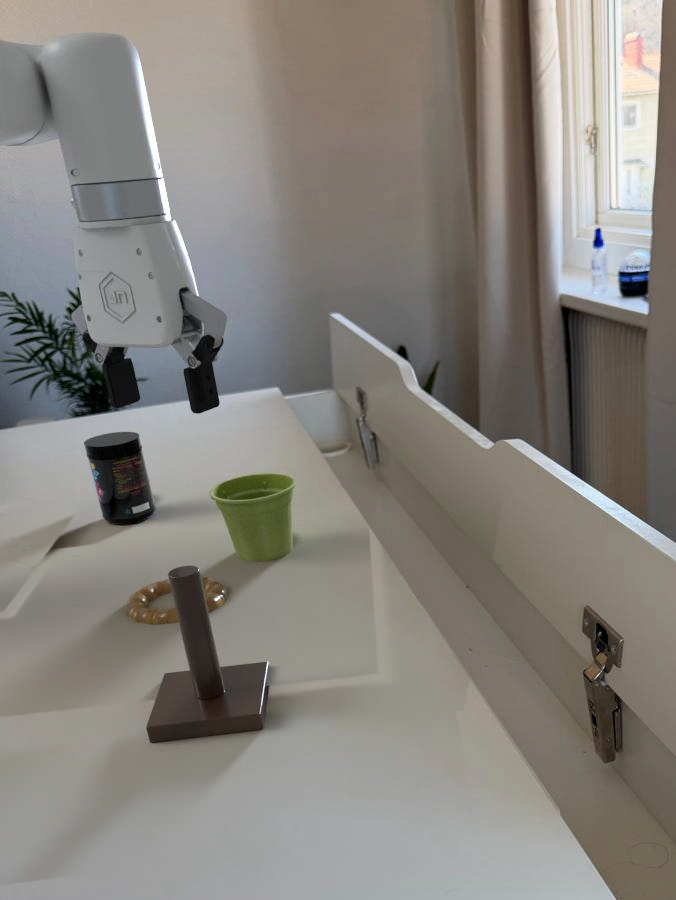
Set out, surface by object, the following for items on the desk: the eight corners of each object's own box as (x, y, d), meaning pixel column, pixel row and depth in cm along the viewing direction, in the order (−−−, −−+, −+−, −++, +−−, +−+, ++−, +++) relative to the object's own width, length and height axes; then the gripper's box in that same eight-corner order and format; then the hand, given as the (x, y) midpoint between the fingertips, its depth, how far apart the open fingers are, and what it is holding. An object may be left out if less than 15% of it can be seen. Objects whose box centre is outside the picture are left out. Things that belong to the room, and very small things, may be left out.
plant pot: (240, 582, 106) (225, 506, 102) (213, 557, 113) (198, 485, 109) (320, 560, 110) (308, 486, 106) (288, 537, 117) (276, 467, 113)
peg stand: (149, 743, 78) (112, 601, 72) (167, 687, 86) (135, 556, 80) (263, 729, 79) (235, 588, 73) (271, 675, 86) (246, 544, 81)
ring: (119, 637, 95) (114, 619, 95) (138, 596, 104) (134, 579, 103) (222, 626, 96) (218, 608, 95) (233, 585, 105) (229, 568, 104)
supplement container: (133, 505, 132) (115, 429, 127) (168, 512, 129) (150, 434, 124) (92, 522, 127) (72, 443, 122) (127, 529, 124) (107, 448, 119)
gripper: (15, 213, 83) (67, 412, 91) (169, 205, 76) (211, 423, 84) (82, 205, 89) (126, 393, 97) (231, 197, 82) (265, 401, 90)
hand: (165, 407), depth 90 cm, fingers open, 9 cm apart
